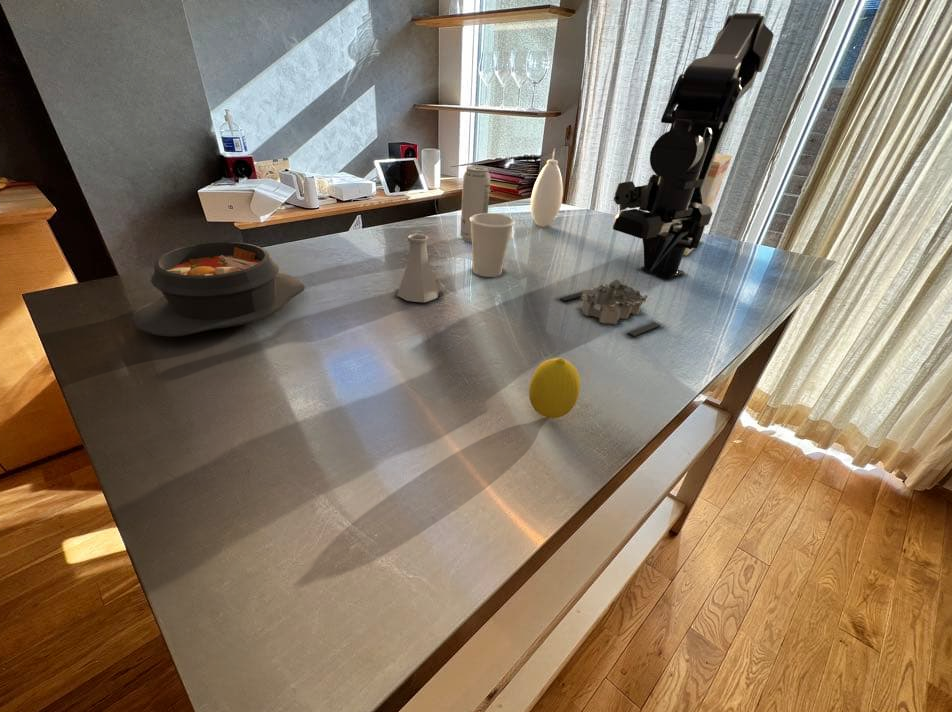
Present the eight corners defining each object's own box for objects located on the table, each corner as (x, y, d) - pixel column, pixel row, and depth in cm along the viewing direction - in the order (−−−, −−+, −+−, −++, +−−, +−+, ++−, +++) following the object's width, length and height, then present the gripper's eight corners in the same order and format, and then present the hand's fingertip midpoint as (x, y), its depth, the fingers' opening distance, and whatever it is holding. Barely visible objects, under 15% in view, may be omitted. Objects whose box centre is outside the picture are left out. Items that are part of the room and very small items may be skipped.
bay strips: (585, 292, 82) (586, 290, 82) (659, 326, 72) (660, 325, 72) (559, 299, 79) (559, 298, 79) (633, 337, 69) (634, 335, 69)
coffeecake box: (672, 235, 116) (701, 151, 104) (701, 242, 112) (734, 155, 101) (656, 249, 106) (685, 157, 94) (686, 256, 103) (721, 162, 91)
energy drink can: (461, 234, 107) (465, 164, 98) (486, 236, 106) (492, 167, 97) (458, 241, 102) (461, 169, 93) (484, 244, 102) (490, 171, 92)
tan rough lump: (608, 327, 71) (614, 304, 69) (573, 310, 76) (578, 287, 73) (647, 312, 77) (654, 290, 74) (612, 297, 81) (618, 275, 79)
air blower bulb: (526, 228, 114) (538, 148, 103) (528, 220, 120) (538, 144, 109) (557, 231, 113) (571, 151, 102) (556, 223, 119) (570, 147, 108)
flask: (446, 292, 79) (448, 234, 73) (426, 307, 74) (427, 246, 68) (410, 283, 81) (409, 227, 75) (389, 297, 76) (386, 238, 70)
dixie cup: (486, 282, 83) (492, 228, 77) (457, 269, 88) (460, 216, 82) (516, 273, 88) (524, 221, 82) (487, 261, 93) (492, 210, 87)
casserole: (262, 273, 81) (251, 226, 76) (332, 302, 73) (325, 252, 68) (112, 320, 64) (85, 263, 59) (181, 364, 56) (157, 303, 51)
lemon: (520, 402, 54) (530, 345, 49) (564, 402, 54) (578, 345, 49) (529, 432, 49) (541, 373, 45) (577, 432, 50) (594, 373, 45)
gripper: (668, 158, 76) (641, 248, 86) (598, 163, 67) (576, 264, 77) (730, 169, 69) (693, 267, 79) (662, 177, 60) (629, 287, 70)
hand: (647, 270), depth 76 cm, fingers closed
